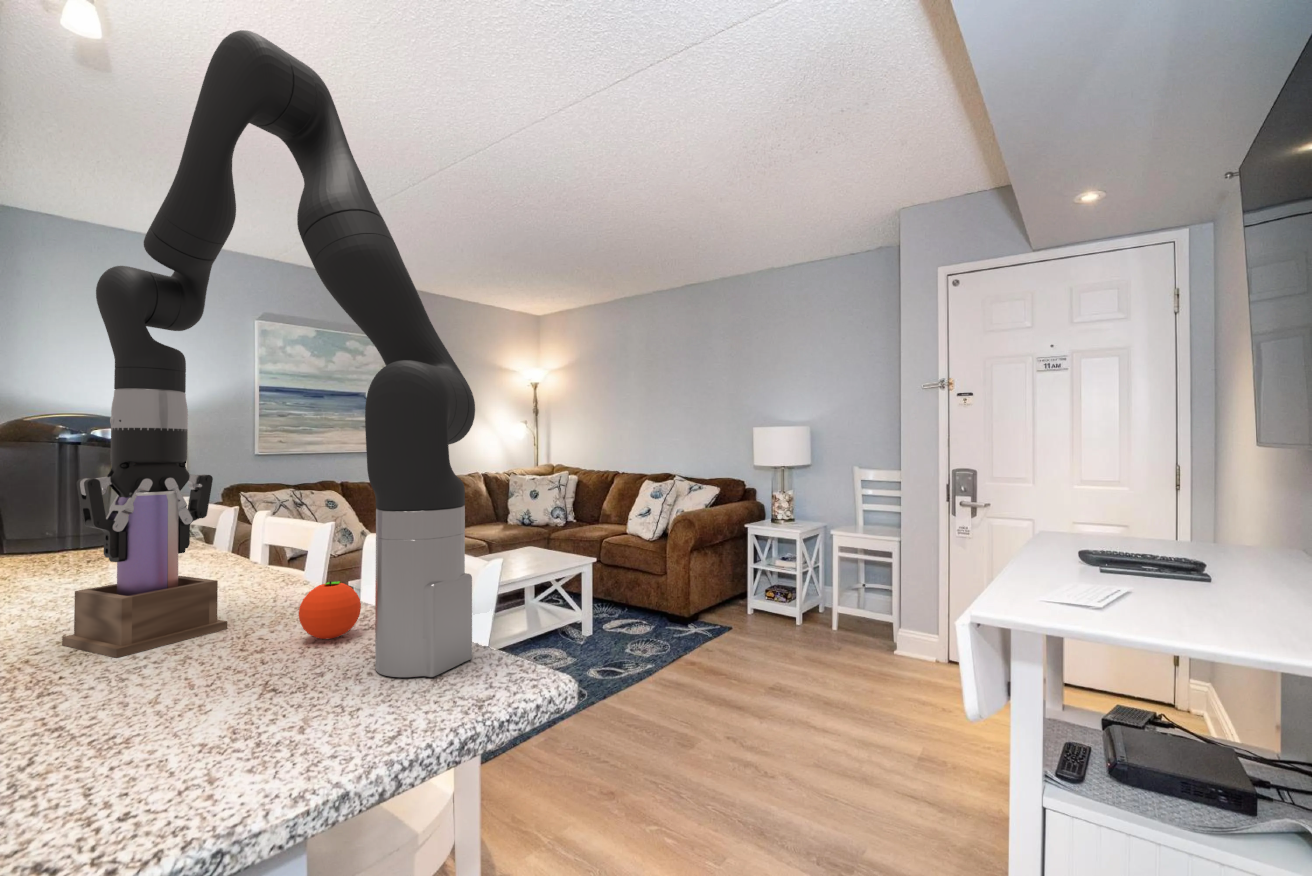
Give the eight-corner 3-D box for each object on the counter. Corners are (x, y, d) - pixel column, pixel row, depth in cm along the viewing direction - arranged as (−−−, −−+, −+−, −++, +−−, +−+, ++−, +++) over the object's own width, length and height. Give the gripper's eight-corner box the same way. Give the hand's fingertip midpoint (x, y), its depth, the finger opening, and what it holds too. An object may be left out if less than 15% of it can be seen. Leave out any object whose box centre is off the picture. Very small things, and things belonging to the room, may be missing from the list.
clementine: (311, 629, 78) (312, 575, 78) (368, 625, 80) (368, 572, 80) (289, 649, 71) (290, 589, 71) (353, 644, 72) (353, 585, 72)
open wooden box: (227, 628, 79) (227, 579, 79) (116, 657, 68) (117, 601, 68) (173, 619, 84) (174, 573, 84) (62, 645, 73) (62, 591, 73)
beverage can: (142, 615, 72) (143, 493, 72) (103, 613, 73) (104, 492, 74) (189, 603, 78) (190, 489, 78) (153, 601, 79) (154, 489, 79)
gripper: (95, 423, 68) (93, 569, 68) (228, 427, 81) (226, 550, 81) (61, 425, 71) (59, 565, 71) (194, 428, 84) (193, 547, 84)
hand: (148, 556), depth 76 cm, fingers closed on beverage can, 6 cm apart
